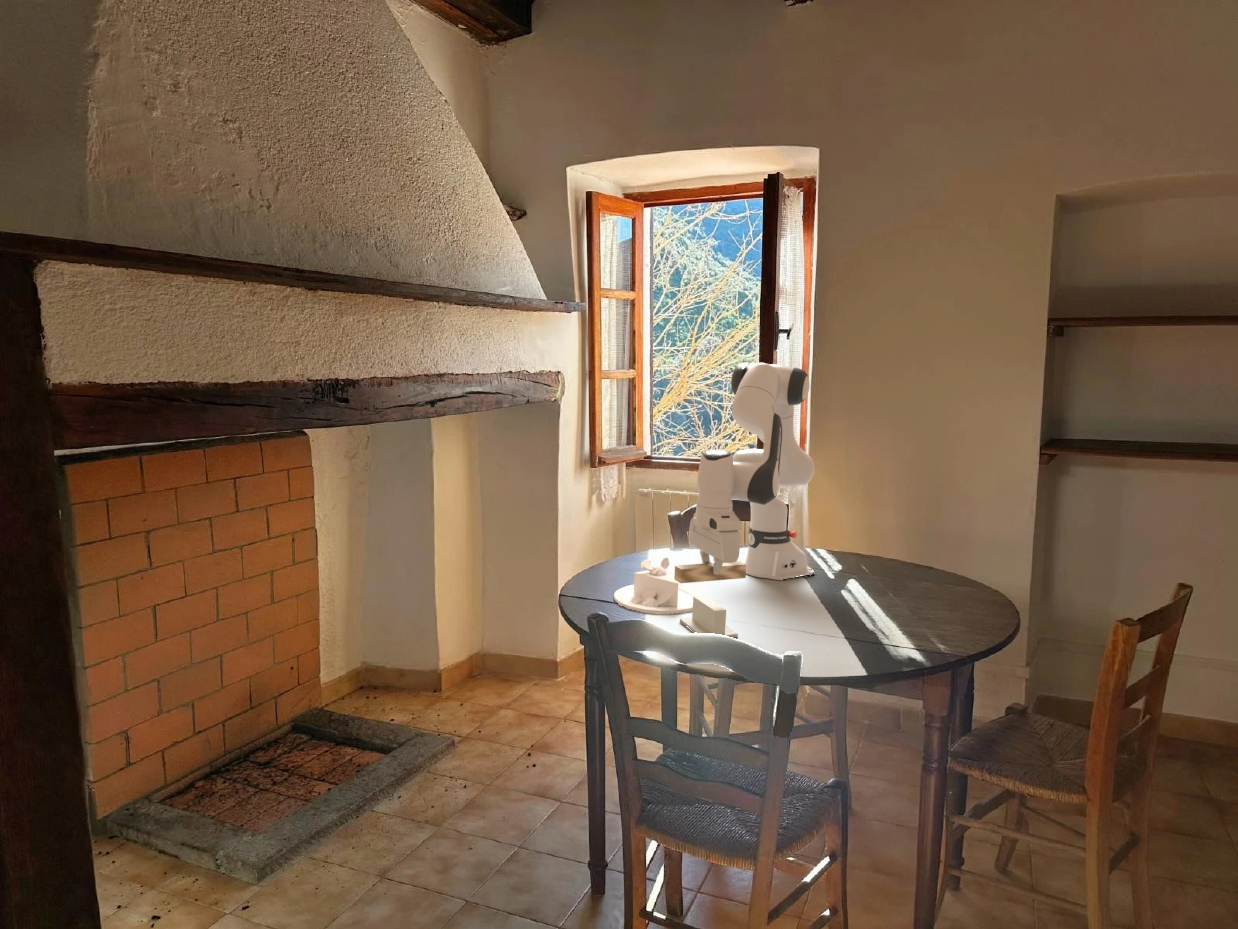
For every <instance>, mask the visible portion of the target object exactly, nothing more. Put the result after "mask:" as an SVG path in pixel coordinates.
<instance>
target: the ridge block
mask: <svg viewBox="0 0 1238 929" xmlns="http://www.w3.org/2000/svg"><path fill="white" fill-rule="evenodd" d="M691 612H692V613H691V615H692V616H691V617H685V618H679V623H680V624H681V623H682V624H683V625H682V624H681V625H682V626H684V625H685V626H688V627H689V628H690V629H691V630H692V631H691V633H693V632H697V633H715V634H722V635H727V636H729V637H737V638H736V639H738V637H739V633H738V632H736V631H735V630H733V629H732V628H730V627H728V626H727V625H726V624H727V622H726V621H727V609H726V608H724V607H722V606H721V605H719V604H717V603H716V602H715V601H713V600H712V599H710V598H708V597H707V596H705V595H702V596H693V611H691ZM685 626H684V627H685Z"/></svg>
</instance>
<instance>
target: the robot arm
mask: <svg viewBox="0 0 1238 929" xmlns="http://www.w3.org/2000/svg"><path fill="white" fill-rule="evenodd" d="M730 386H731V392H732V393H733V395H734V397H733V401H732V405H731V406H732V407H731V413H732V416H733V418H734V420H735V421H736V424H738V425H739V426H740V427H741V428H742V429H744V430H745V431H747V432H748V433H751V434H754V435H756V437H757V438H758V439H759V440H760V441H761V442H762V443H763V448H748V449H741V450H737V451H736V452H734V454H733V453H732V452H730V451H728V450H725V449H718V448H715V449H710V450H706V451H705V452H703V453H702V454H701V457H700V461H699V464H698V465H699V466H698V472H697V483H696V484H697V485H696V486H697V491H698V492H697V493H698V496H697V499H696V504H695V505H696V509H695V512H694V513H693V517H692V518H691V519H690V523H689V530H688V542H689V545H691V546H692V547H694V548H696V549H698V550H699V551H700V552H699V554H700V557H701V558H700V559H701V561H702V563H701V564H704V563H712V562H711V560H710V556H711V557H713V563H714V566H712V568H711V569H712V570H711V572H712V573H713V574H715V575H719V574H720V572H721V566H722V564H723V562H724V563H732V562H736V561H739V557H740V549H741V534H740V531H742V528H743V524H742V521H741V519H739V518H738V516H737V515H736V513H735V511H734V510H733V506H734V505H733V501H732V500H737V501H744V502H749V504H750V526H749V527H748V537H747V539H748V541H747V542H748V546H747V547H748V548H747V554H746V558H745V562H744V563H745V564H746V575H748V576H752V577H755V578H756V577H757V578H763V579H771V580H776V581H784V580H783V579H787V578H793V577H796V576H800V575H806V574H809V573H813V572H814V573H815V571H814V569H813V568H812V567H810V566H809V565H808V559H807V558H808V557H807V555H806V553H805V552H804V551H803V550H801V549H800V548H799V547H798V546H797V545H796V544H795V543H794V542H793V541H792V540H791V539H796V538H797V537H798V533H797V532H796V531H793V530H791V531H790V530H788V529H787V520H788V519H787V518H788V506H787V504H786V502H785V501H784V500H783V499H781V498H780V497H778V493H779V489H780V487H800V486H806V485H808V484H809V483H810V482H811V481H812V479H813V477H814V476H815V469H816V468H815V463H814V460H813V458H812V457H811V456H810V455H809V454H808V453H807V452H805V451H804V450H803V449H802V448H801V447H800V445H799V444H798V443H797V440H796V438H795V432H794V417H795V416H794V411H795V406H797V405H801V404H802V403H803V402H805V400H806V398H807V396H808V394H809V391H810V378H809V374H808V373H807V372H806V370H804V369H802V368H799V367H790V366H786V365H781V364H775V363H772V364H770V363H765V362H757V363H752V362H741V363H739V364H738V365H737V366H735V367H734V370H733V372H732V375H731V379H730ZM811 569H812V570H811ZM793 579H794V578H793ZM787 580H788V579H787Z"/></svg>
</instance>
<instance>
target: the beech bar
mask: <svg viewBox="0 0 1238 929" xmlns="http://www.w3.org/2000/svg"><path fill="white" fill-rule="evenodd" d="M712 566H714V562H711V563H704V564H702V563H692V564H681V565H680V564H679V565H674V576H673V577H674V580H676V581H677V582H678V584H688V583H689V584H691V583H700V582H701V583H702V582H713V581H726V580H727V581H728V580H738V579H746V577H747V576H746V575H747V574H746V564H745V562H742V561H740V560H737V561H736V562H732V563H724V562H723V564H722V566H721V572H720V574H719V575H715V574H713V573H712V572H711V570H712V569H711V568H712Z"/></svg>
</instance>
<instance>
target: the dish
mask: <svg viewBox="0 0 1238 929" xmlns="http://www.w3.org/2000/svg"><path fill="white" fill-rule="evenodd" d="M639 566H640V569H644V571H643V570H642V571H636V572H634V573H633V584H629V585H626V586H623V587H620V588H619V589H617V590H616V591H615V592H614V596H613V597H614V599H613V600H615V601H616V602H617V603H618V605H619V606H620V607H622V606H624V607H626V608H625V609H627V608H628V609H627V610H629V609H633V610H637V611H636V612H638V611H640V612H639V613H642V614H643V613H644V614H651V613H656V614H655V615H678V614H677V613H680V614H684V613H691V612H693V596H703V595H702V594H701V593H700V592H698V591H696V590H694V589H692V588H689V587H686V586H681V585H679V582H678V581H676V580H674V576H673V574H672V573H671V572H670V571H669V570H668V568H669V566H670V560H669V558H668V557H665V558H663V559H662V560H661V562H660V566H659V565H654V566H653V562H652V559H644V560H642V561H641V563H640V565H639ZM615 601H614V602H615ZM616 602H615V603H616ZM617 603H616V604H617ZM624 607H623V608H624ZM633 610H632V611H633ZM657 613H659V614H657ZM666 613H667V614H666ZM670 613H671V614H670ZM674 613H676V614H674Z"/></svg>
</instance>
